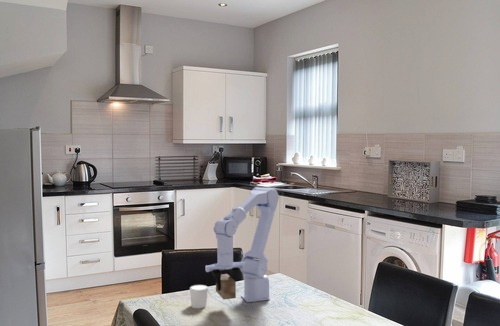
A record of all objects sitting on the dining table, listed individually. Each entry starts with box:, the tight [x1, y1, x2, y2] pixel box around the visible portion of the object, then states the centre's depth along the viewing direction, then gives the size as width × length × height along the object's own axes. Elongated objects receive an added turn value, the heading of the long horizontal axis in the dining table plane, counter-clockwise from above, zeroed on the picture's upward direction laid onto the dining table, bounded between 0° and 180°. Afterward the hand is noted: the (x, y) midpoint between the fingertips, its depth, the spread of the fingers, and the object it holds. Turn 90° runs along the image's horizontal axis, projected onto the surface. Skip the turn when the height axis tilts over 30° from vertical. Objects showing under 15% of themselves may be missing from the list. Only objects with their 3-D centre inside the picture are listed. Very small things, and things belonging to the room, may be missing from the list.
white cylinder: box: [189, 284, 209, 309], centre depth 169 cm, size 7×7×7 cm
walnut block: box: [215, 273, 237, 300], centre depth 164 cm, size 4×10×6 cm, turn 20°
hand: (225, 289), depth 164 cm, fingers closed on walnut block, 4 cm apart
